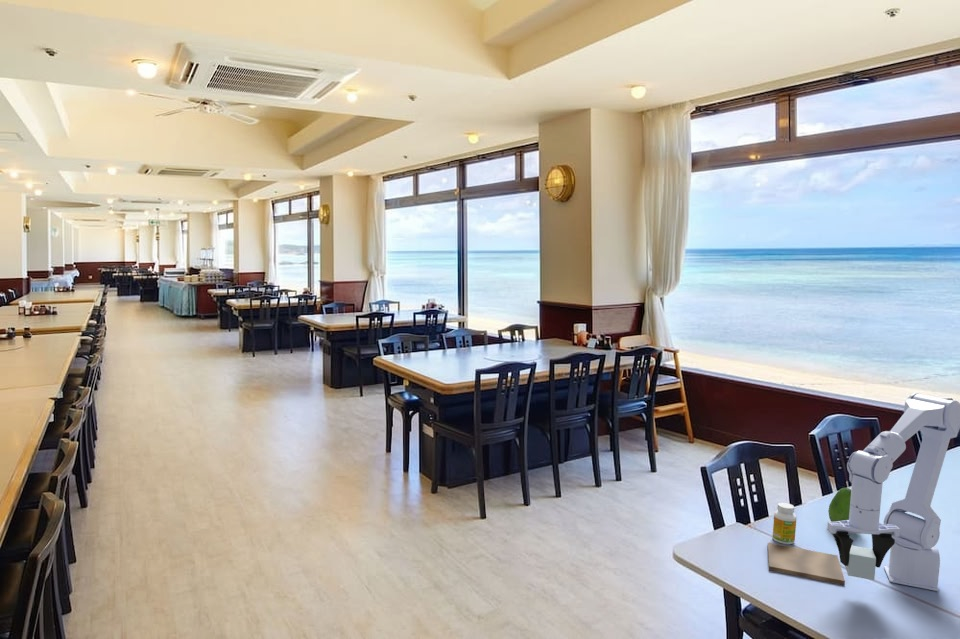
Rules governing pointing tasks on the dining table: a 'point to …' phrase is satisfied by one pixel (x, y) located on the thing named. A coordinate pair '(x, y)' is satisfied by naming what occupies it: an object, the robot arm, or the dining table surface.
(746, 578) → the dining table surface
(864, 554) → the pale blue-gray cube
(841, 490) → the avocado
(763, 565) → the dining table surface
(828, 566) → the brown wooden board
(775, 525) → the supplement bottle
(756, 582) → the dining table surface
